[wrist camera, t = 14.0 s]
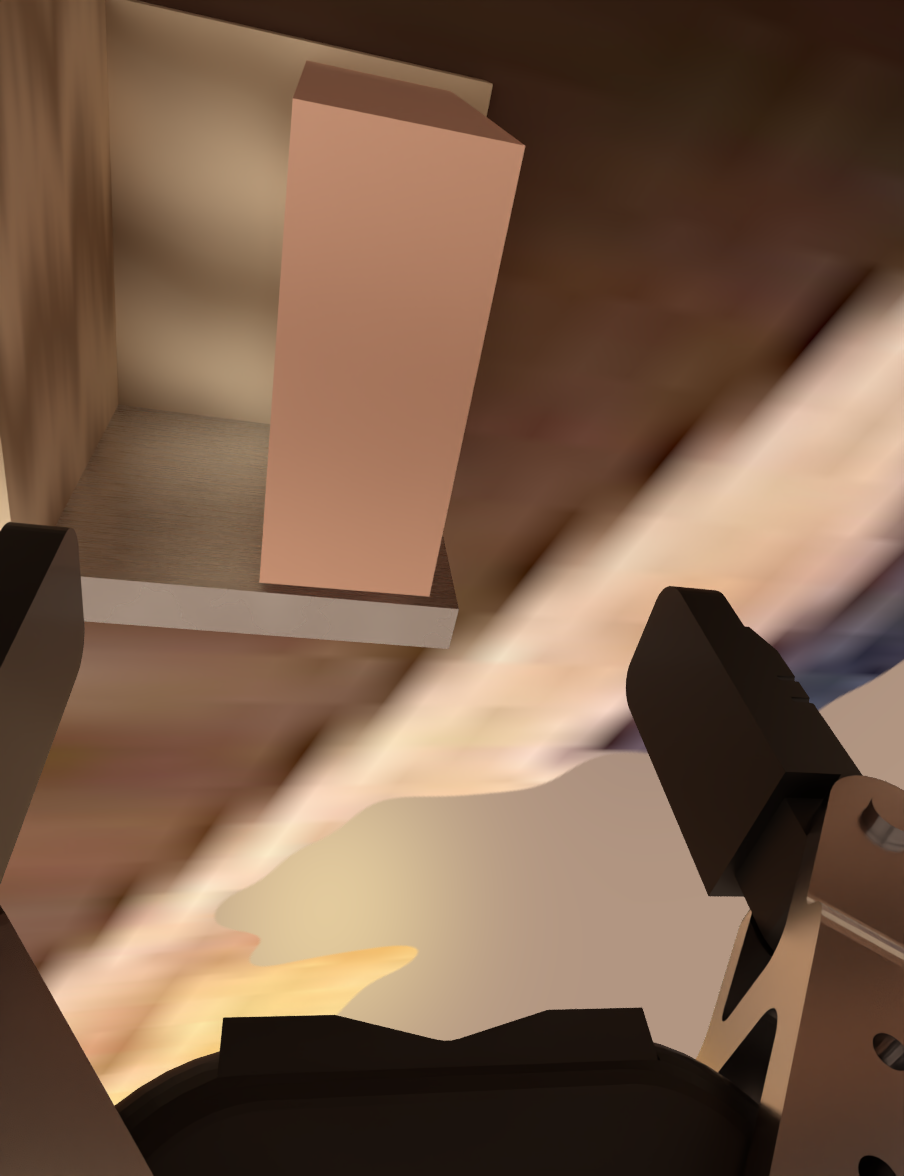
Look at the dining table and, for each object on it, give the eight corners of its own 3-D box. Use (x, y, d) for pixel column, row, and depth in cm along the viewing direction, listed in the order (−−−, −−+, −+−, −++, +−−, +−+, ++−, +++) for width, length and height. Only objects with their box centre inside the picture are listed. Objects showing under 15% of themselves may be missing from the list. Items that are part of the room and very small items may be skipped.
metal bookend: (118, 404, 30) (31, 572, 21) (423, 444, 33) (458, 608, 24) (119, 441, 31) (36, 617, 22) (416, 477, 33) (448, 648, 25)
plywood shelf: (62, -17, 24) (-156, -32, 13) (485, 80, 27) (592, 133, 16) (86, 419, 32) (-38, 636, 21) (413, 460, 35) (453, 670, 24)
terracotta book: (306, 60, 25) (292, 98, 15) (451, 91, 26) (525, 146, 16) (280, 400, 31) (259, 582, 21) (398, 415, 32) (429, 596, 22)
